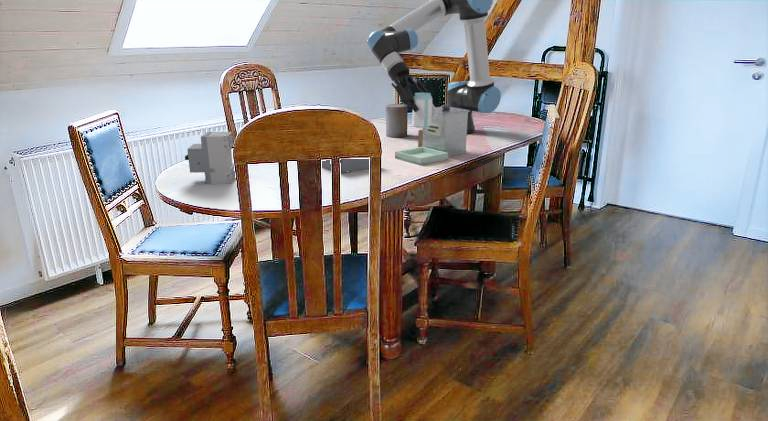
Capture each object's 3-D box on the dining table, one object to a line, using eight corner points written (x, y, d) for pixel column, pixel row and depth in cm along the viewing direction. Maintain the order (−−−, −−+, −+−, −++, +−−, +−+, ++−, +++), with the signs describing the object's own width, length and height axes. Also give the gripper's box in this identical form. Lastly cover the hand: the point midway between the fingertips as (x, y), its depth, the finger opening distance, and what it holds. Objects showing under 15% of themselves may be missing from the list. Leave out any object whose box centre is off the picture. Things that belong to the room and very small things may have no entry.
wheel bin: (354, 159, 202) (354, 143, 200) (377, 166, 191) (377, 149, 190) (318, 165, 192) (317, 149, 190) (340, 173, 182) (340, 156, 180)
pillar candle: (408, 134, 249) (408, 100, 244) (405, 138, 240) (406, 103, 235) (387, 133, 251) (387, 100, 246) (384, 137, 241) (383, 103, 237)
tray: (422, 152, 212) (422, 146, 211) (447, 159, 202) (448, 152, 201) (394, 158, 204) (395, 151, 203) (420, 165, 193) (420, 158, 193)
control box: (443, 147, 221) (445, 102, 215) (467, 153, 212) (469, 105, 206) (420, 152, 213) (421, 104, 207) (443, 157, 204) (445, 108, 198)
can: (409, 125, 201) (410, 92, 197) (427, 124, 203) (428, 91, 199) (416, 128, 195) (417, 94, 191) (434, 127, 197) (435, 94, 193)
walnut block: (424, 145, 226) (425, 128, 224) (434, 146, 223) (435, 129, 221) (418, 147, 222) (418, 130, 220) (428, 148, 219) (429, 131, 217)
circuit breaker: (191, 177, 177) (186, 132, 172) (236, 176, 178) (232, 131, 173) (185, 184, 169) (180, 136, 165) (232, 183, 171) (227, 136, 166)
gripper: (406, 73, 210) (439, 119, 205) (372, 76, 195) (406, 126, 191) (418, 59, 205) (452, 107, 200) (383, 61, 190) (419, 113, 186)
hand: (429, 116), depth 195 cm, fingers closed on can, 7 cm apart
